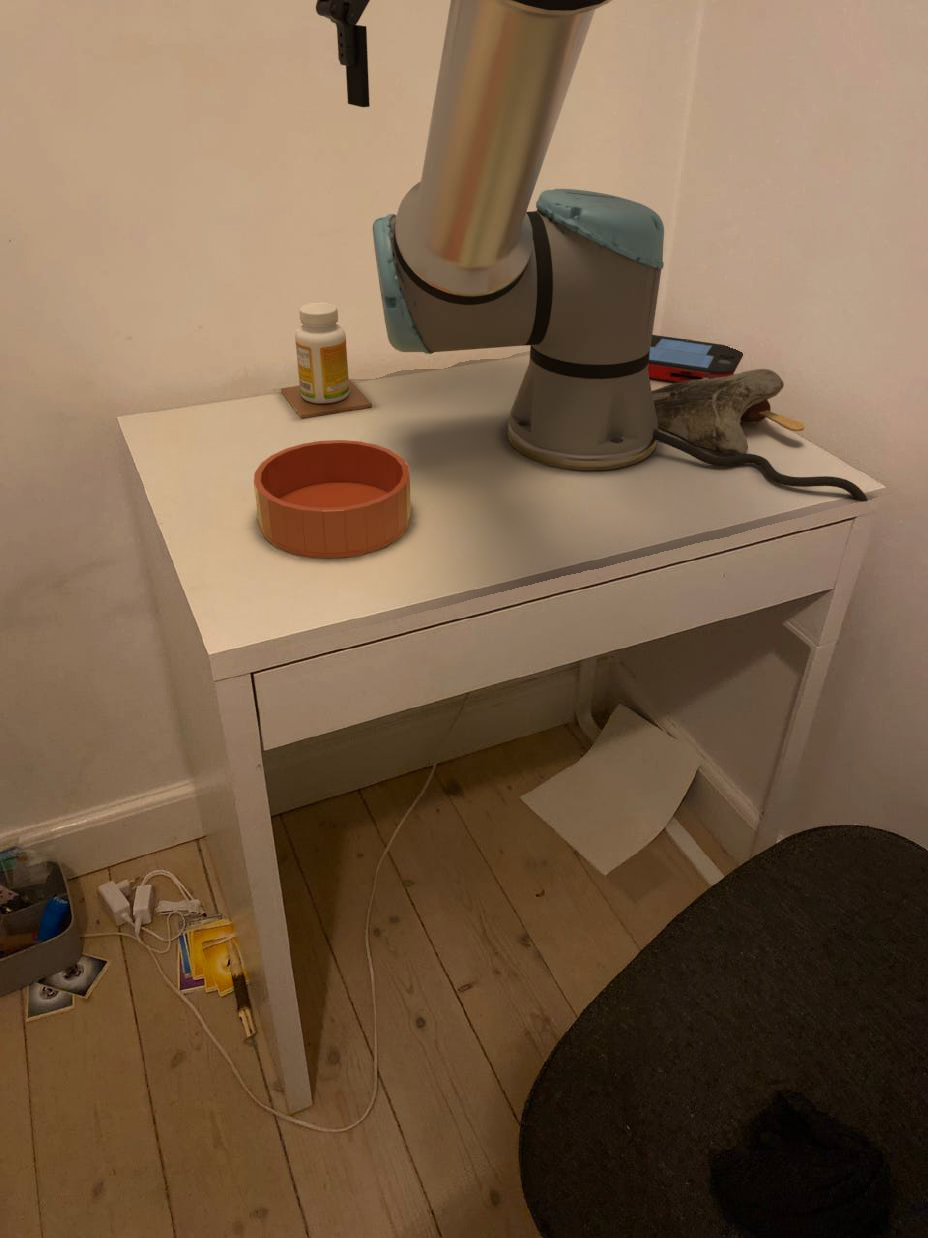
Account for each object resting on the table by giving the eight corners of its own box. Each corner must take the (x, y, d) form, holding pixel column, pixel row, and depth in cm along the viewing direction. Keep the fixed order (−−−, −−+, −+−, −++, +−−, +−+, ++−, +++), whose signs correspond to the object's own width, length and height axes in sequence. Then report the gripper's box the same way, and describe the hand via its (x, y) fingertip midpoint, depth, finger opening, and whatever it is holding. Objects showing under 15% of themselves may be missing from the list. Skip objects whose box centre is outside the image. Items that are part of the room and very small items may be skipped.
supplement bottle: (353, 387, 108) (348, 300, 102) (344, 406, 103) (338, 316, 97) (306, 384, 108) (299, 298, 102) (295, 403, 104) (286, 314, 98)
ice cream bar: (772, 452, 96) (679, 400, 107) (811, 443, 98) (715, 393, 109) (779, 421, 94) (683, 372, 105) (818, 414, 96) (721, 365, 107)
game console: (744, 356, 118) (748, 339, 117) (728, 394, 109) (731, 375, 108) (631, 339, 123) (633, 321, 121) (605, 373, 113) (608, 355, 112)
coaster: (348, 381, 110) (348, 377, 110) (372, 407, 104) (371, 403, 104) (281, 391, 107) (280, 388, 107) (301, 418, 101) (300, 415, 101)
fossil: (645, 347, 104) (777, 350, 95) (659, 374, 108) (788, 380, 98) (604, 431, 101) (736, 442, 92) (620, 456, 105) (749, 469, 95)
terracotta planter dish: (434, 500, 87) (434, 455, 84) (367, 572, 77) (365, 524, 74) (308, 473, 91) (304, 429, 88) (229, 538, 81) (222, 491, 79)
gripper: (498, -167, 91) (491, 87, 103) (262, -187, 78) (286, 104, 90) (550, -172, 86) (537, 95, 98) (307, -194, 73) (327, 115, 86)
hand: (417, 100), depth 94 cm, fingers open, 13 cm apart
